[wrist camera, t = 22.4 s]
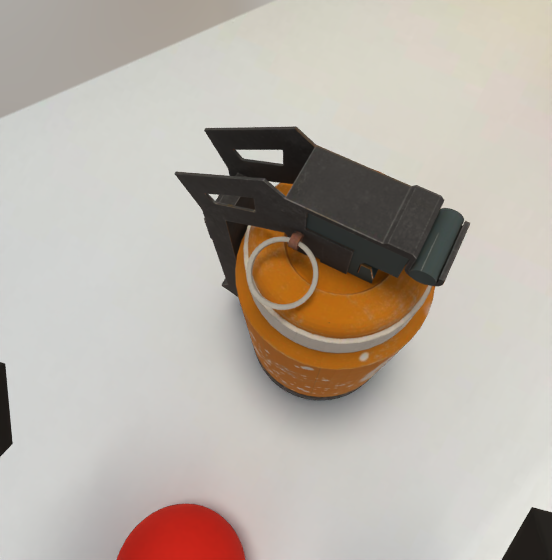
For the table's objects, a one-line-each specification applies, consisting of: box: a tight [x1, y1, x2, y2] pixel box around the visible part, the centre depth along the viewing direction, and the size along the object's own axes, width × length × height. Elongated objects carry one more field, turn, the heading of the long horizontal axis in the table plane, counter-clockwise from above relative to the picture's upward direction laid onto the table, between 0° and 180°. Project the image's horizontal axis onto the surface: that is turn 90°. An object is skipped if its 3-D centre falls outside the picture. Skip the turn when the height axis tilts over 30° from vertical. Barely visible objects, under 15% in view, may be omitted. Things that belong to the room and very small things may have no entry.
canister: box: [175, 127, 470, 400], centre depth 25 cm, size 9×11×20 cm
